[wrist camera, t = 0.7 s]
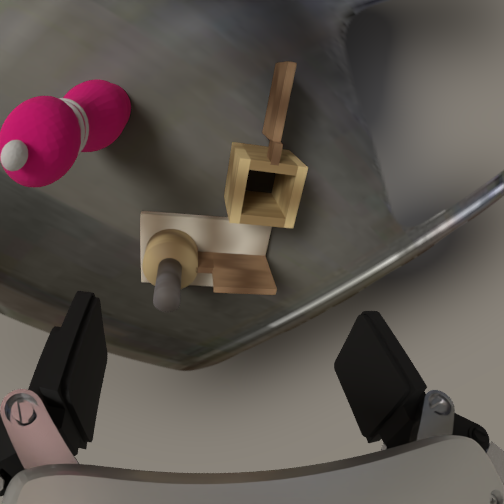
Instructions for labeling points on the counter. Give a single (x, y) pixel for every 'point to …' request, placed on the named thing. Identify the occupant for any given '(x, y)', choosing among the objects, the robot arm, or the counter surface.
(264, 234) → the hinge base
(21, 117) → the pepper mill
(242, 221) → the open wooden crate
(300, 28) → the counter surface
